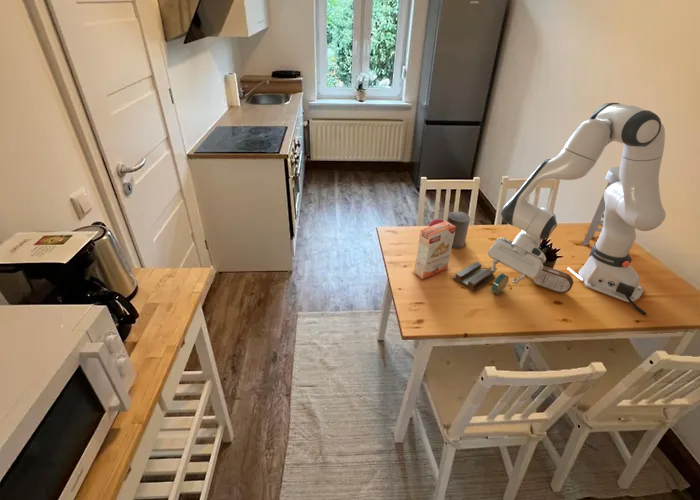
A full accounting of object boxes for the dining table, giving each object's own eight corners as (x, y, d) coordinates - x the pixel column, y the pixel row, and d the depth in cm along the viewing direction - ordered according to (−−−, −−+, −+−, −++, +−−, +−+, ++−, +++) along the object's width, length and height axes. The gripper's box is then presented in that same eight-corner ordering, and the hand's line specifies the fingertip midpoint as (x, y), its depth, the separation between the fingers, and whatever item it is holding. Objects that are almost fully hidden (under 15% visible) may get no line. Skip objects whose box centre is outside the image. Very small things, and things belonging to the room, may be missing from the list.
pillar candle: (442, 245, 175) (447, 217, 167) (444, 235, 183) (449, 207, 175) (464, 249, 173) (470, 220, 165) (465, 238, 181) (471, 210, 173)
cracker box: (423, 280, 153) (430, 236, 142) (413, 272, 158) (419, 228, 146) (448, 269, 160) (457, 226, 148) (438, 262, 164) (445, 219, 153)
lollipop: (441, 245, 176) (446, 216, 167) (443, 254, 169) (448, 225, 161) (424, 244, 176) (429, 215, 168) (425, 253, 170) (430, 223, 162)
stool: (584, 231, 189) (613, 163, 170) (620, 243, 181) (654, 173, 161) (576, 244, 179) (605, 173, 160) (613, 256, 171) (648, 184, 151)
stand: (494, 277, 156) (496, 271, 154) (474, 291, 148) (475, 285, 147) (473, 266, 162) (474, 260, 161) (453, 278, 155) (454, 273, 153)
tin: (569, 292, 149) (576, 275, 144) (567, 297, 147) (575, 279, 142) (528, 278, 156) (534, 261, 151) (527, 282, 154) (533, 265, 149)
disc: (505, 289, 150) (510, 272, 146) (494, 297, 146) (499, 280, 141) (501, 286, 151) (506, 270, 147) (489, 294, 147) (494, 278, 143)
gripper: (497, 232, 150) (477, 261, 150) (548, 256, 137) (526, 288, 137) (501, 238, 155) (481, 267, 155) (550, 261, 142) (529, 292, 142)
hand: (503, 277), depth 146 cm, fingers open, 8 cm apart
